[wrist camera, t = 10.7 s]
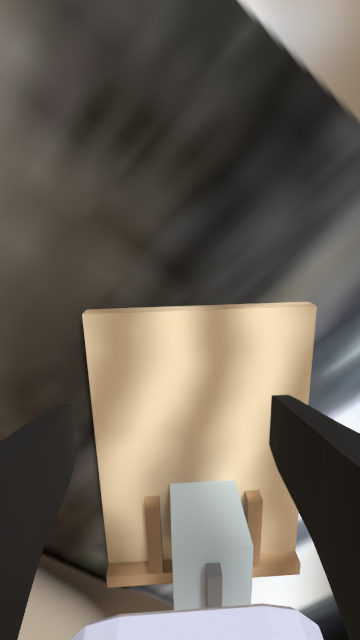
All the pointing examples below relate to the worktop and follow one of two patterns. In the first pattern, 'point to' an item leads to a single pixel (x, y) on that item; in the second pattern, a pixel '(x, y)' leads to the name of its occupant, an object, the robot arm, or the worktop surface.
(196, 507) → the cabinet block
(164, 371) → the wall board
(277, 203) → the worktop surface
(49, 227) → the worktop surface
